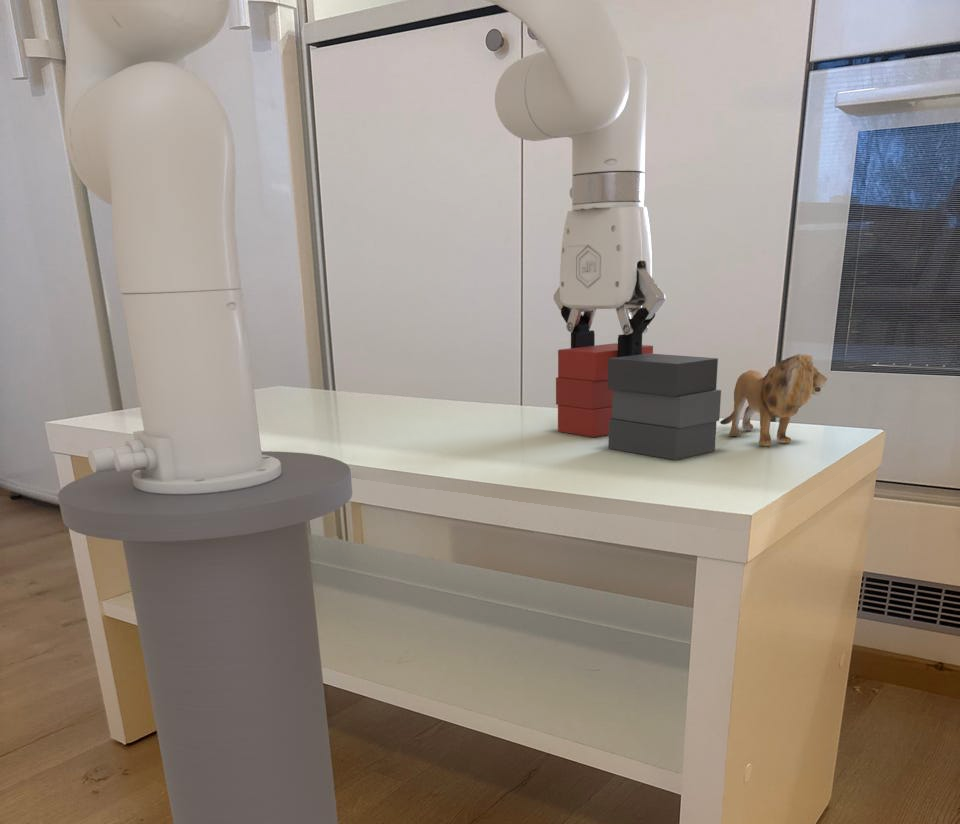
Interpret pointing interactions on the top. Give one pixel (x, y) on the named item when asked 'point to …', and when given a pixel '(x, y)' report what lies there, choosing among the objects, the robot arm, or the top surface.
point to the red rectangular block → (589, 361)
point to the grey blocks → (663, 405)
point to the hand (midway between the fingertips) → (605, 368)
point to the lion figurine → (775, 395)
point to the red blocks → (583, 406)
